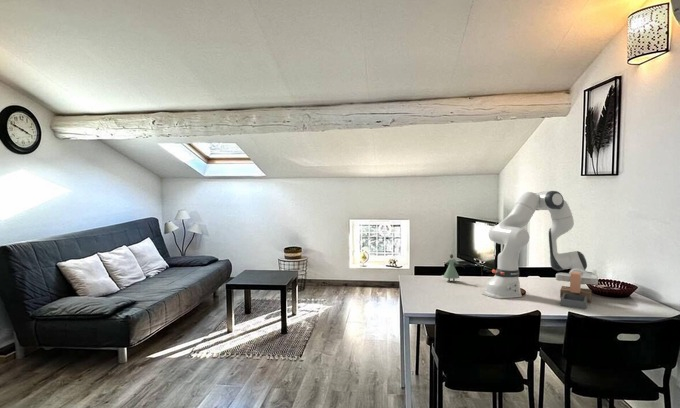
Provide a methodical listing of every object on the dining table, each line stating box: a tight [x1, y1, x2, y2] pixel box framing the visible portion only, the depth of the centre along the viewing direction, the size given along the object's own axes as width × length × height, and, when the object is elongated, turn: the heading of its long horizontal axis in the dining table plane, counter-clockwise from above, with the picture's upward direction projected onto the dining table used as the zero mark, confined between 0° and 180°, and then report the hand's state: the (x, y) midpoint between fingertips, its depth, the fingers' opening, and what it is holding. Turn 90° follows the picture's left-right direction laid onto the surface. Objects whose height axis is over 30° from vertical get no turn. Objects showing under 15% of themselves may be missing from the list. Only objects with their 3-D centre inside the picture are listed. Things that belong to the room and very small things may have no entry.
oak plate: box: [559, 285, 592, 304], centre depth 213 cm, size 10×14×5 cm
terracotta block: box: [569, 271, 582, 293], centre depth 209 cm, size 6×4×10 cm
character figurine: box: [441, 254, 464, 282], centre depth 254 cm, size 16×8×18 cm, turn 80°
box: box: [560, 293, 588, 310], centre depth 202 cm, size 15×11×4 cm
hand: (575, 281), depth 211 cm, fingers closed
